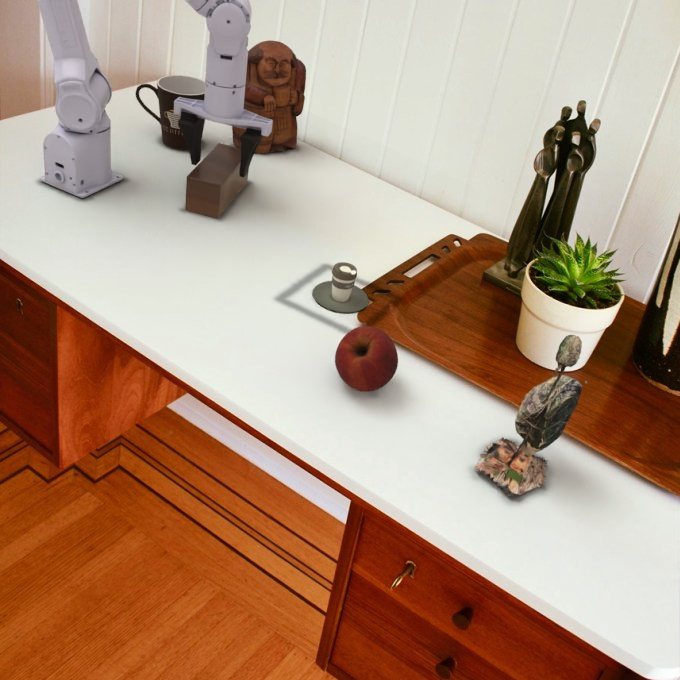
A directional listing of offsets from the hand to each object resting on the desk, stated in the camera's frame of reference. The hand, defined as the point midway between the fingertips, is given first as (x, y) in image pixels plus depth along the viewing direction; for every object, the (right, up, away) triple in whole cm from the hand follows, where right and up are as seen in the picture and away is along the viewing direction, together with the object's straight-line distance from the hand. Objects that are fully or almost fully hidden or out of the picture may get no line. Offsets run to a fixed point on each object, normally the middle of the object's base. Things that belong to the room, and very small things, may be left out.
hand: (219, 168), depth 134 cm
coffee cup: (+19, -21, -14) cm, 32 cm away
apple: (+22, -33, -29) cm, 49 cm away
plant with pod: (+40, -42, -36) cm, 68 cm away
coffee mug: (-11, +9, +16) cm, 21 cm away
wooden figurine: (+4, +9, +21) cm, 23 cm away
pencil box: (-1, -3, +3) cm, 5 cm away
